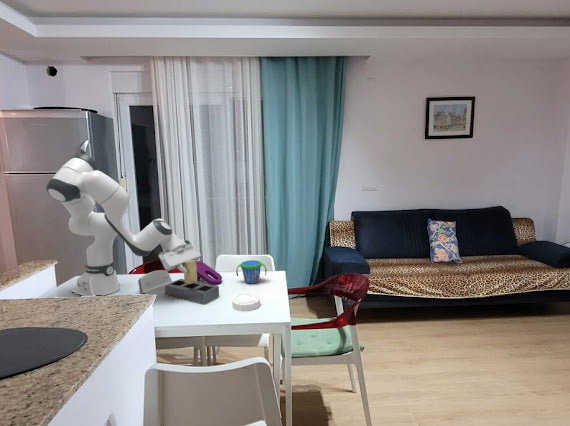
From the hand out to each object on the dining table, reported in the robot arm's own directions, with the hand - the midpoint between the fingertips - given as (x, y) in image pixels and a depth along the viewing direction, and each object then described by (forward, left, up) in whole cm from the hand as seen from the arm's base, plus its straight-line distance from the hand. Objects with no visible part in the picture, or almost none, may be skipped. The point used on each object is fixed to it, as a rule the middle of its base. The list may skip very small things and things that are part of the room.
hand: (191, 271), depth 159 cm
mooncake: (+28, 0, -13) cm, 31 cm away
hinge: (-24, +2, -13) cm, 27 cm away
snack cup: (+17, +27, -13) cm, 34 cm away
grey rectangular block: (-1, +1, -12) cm, 12 cm away
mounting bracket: (-6, +19, -13) cm, 24 cm away
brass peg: (-1, 0, -5) cm, 5 cm away
